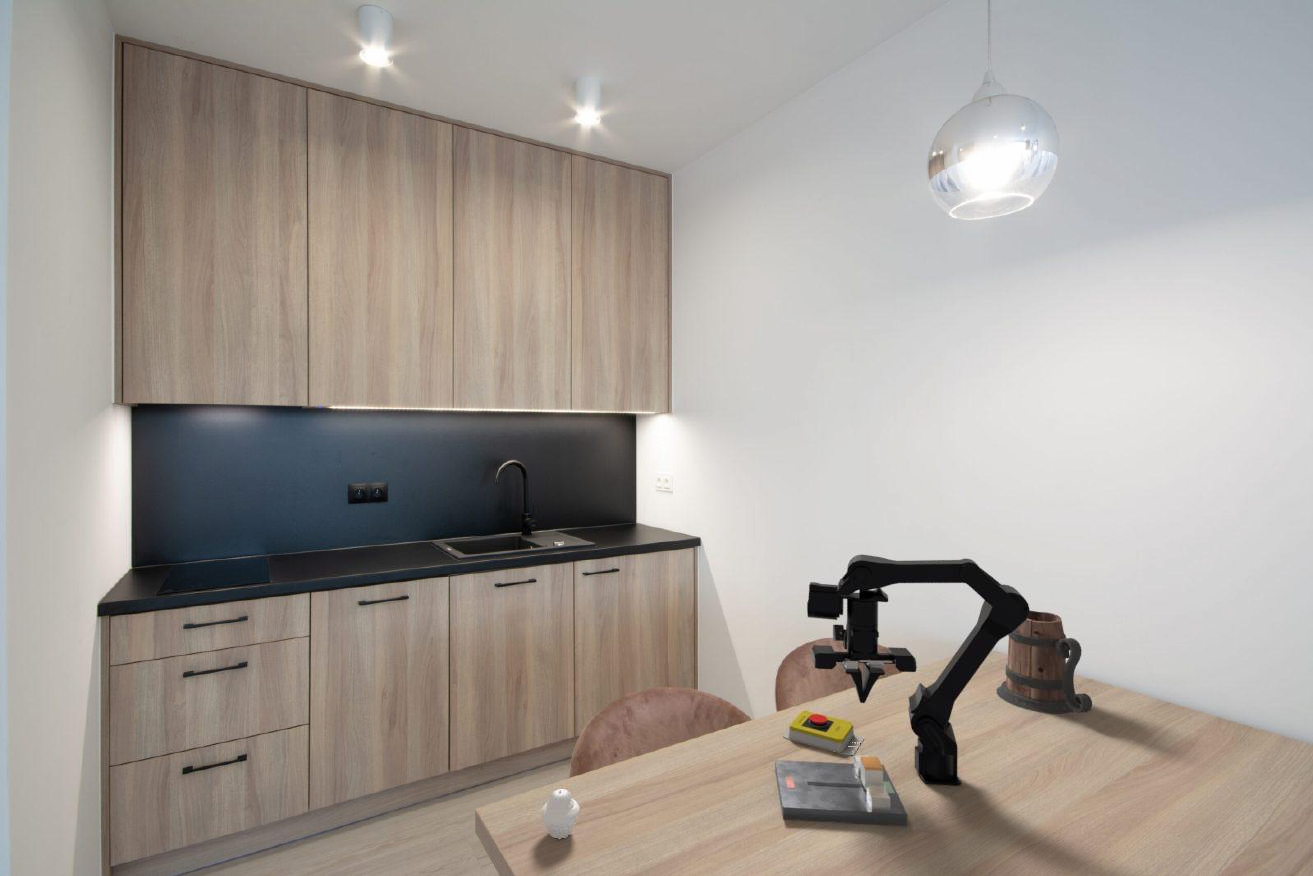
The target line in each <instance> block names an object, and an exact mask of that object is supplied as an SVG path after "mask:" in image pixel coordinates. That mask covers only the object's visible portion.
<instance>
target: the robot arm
mask: <svg viewBox="0 0 1313 876" xmlns="http://www.w3.org/2000/svg"><path fill="white" fill-rule="evenodd" d="M896 584H898V585H899V584H966V585H967V586H969V588H971V589H972V590H973V591H974V592H975V593H976V594H977V595H979V596H980V597H981V598H982V599H983V600H984V601H983V602H982V606H981V608H980V611H979V616H978V619H977V622H976V624H975V626H973V628H972V630H971V631H970V633H968V635H967V637H966V638H965V639H964V641H963V642H962V644H961V645H960V646H959V648H958V649H957V651H956V652H955V654H953V655H952V658H951V659H950V660H949V661H948V663H947V665H946V666H945V667H944V669H943V670H942V672H941V673H940V674H939V676H938V677H937V679H936V680H935V681H934V682H933V683H931V684H930V685H928V686H927V687H926V686H925V685H924V684H923V683H921V682H920V683H918V685H917V688H916V690H915V692H914V693H913V694H912V695H911V696H909V697H908V704H909V705H908V715H909V723H910V727H911V728H910V729H911V730H912V732H913V734H915V735H916V736H917V745H915V746H914V768H915V770H916V772H917V773H918V775H919V776H920V778H921V779H922V781H923V782H924V783H925V784H931V785H932V784H936V785H949V786H950V785H951V786H953V785H954V786H961V785H962V781H961V780H960V778H959V776H958V761H959V760H958V754H959V753H958V751H959V750H958V749H959V748H958V743H957V740H956V736H955V733H954V729H953V725H952V723H951V722H950V719H951V715H952V712H953V708H954V705H955V702H956V701H957V699H958V698H959V696H960V694H961V693H962V692H963V691H964V689H965V688H966V687H967V685H968V684H969V682H970V681H971V680H972V678H973V677H974V675H975V674H976V672H978V670H979V669H980V667H981V666H982V664H983V663H984V662H985V661H986V659H987V657H988V656H989V655H990V653H991V652H992V651H993V650H994V648H995V647H996V645H997V644H998V643H999V642H1000V641H1001V640H1002V639H1004V638H1006V637H1007V636H1008V635H1009V634H1011V633H1012V632H1014V631H1015V630H1016V629H1017V628H1018V627H1019V626H1020V625H1021V624H1022V623H1023V622H1024V621H1026V619H1027V618H1028V616H1029V613H1030V606H1029V603H1028V601H1027V600H1026V598H1025V597H1024V596H1023V595H1022V594H1021V593H1020V592H1019V590H1018V589H1016V588H1015V587H1014V586H1012V585H1009V584H1002V583H1000V582H999V581H998V580H997V579H995V578H994V577H993V576H992V575H990V574H989V573H988V572H987V571H985V570H984V569H983V568H981V567H980V566H979V564H978V563H976V561H974V560H973V559H971V558H961V559H935V560H934V559H928V560H926V559H924V560H920V559H919V560H895V559H889V558H885V557H881V556H876V555H875V556H874V555H870V554H869V555H868V554H857V555H854V556H853V557H852V558H851V559H850V560H849V562H848V564H847V568H846V573H845V574H844V575H843V576H842V577H841V578H840V579H839V581H838V583H837V584H829V583H820V582H816V581H815V582H812V581H811V582H810V583H809V584H808V597H807V598H808V600H807V603H806V609H807V610H806V611H807V618H810V619H811V618H812V619H822V620H832V621H833V620H834V621H837V620H838V618H841V617H840V616H844V607H845V606H844V600H846V625H845V627H844V624H832V638H833V641H834V642H842V646H843V649H844V650H846V651H835V650H834V648H833V646H832V645H827V644H826V645H823V644H821V645H820V644H819V645H818V644H817V645H816V644H814V645H812V647H811V650H810V659H811V662H812V663H813V666H814V668H815V669H818V670H833V669H834V668H835V667H836V666H837V663H840V666H841V667H842V669H843V671H844V673H845V674H846V675H850V676H851V677H850V678H851V679H852V681H853V685H854V689H855V691H856V694H857V698H858V700H859V702H860V704H865V703H866V701H867V700H868V697H869V695H870V693H871V691H872V689H873V687H874V685H875V684H876V682H877V681H878V679H879V678H880V676H885V675H886V672H885V670H884V669H883V668H884V665H886V664H887V665H894V667H895V668H896V669H897V670H898V672H899V673H901V672H902V673H915V672H917V659H916V657H915V656H914V655H913V654H912V653H911V652H910V650H908V649H907V647H892V646H891V647H887V650H886V652H885V653H884V652H879V638H880V632H879V603H888V602H889V595H888V594H887V593H886V592H885V591H884V590H883V589H882V588H886V587H888V586H892V585H896ZM857 591H859V592H857ZM860 664H862V671H861V668H860Z"/></svg>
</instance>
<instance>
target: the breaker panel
mask: <svg viewBox="0 0 1313 876" xmlns="http://www.w3.org/2000/svg"><path fill="white" fill-rule="evenodd" d="M861 756H866V757H872V756H871V755H862V754H854V755H853V763H849V762H830V761H829V762H827V761H824V762H823V761H805V760H784V759H781V760H780V759H775V760H774V772H775V779H776V785H777V790H778V797H779V802H780V809H781V816H782V820H791V821H792V820H793V821H813V822H825V823H826V822H830V823H847V824H860V825H861V824H865V825H882V826H897V827H899V826H900V827H908V813H907V811H906V808H905V807H904V806H905V805H904V804H903V802H902V800H901V798H900V796H899V794H898V792H897V790H896V788H895V786H894V784H893V781H892V779H891V777H890V776H889V774H888V772H887V770H886V767H885V766H884V764H881V765H882V767H883V786H871V785H867V790H865V788H864V786H863V783H862V781H861Z"/></svg>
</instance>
